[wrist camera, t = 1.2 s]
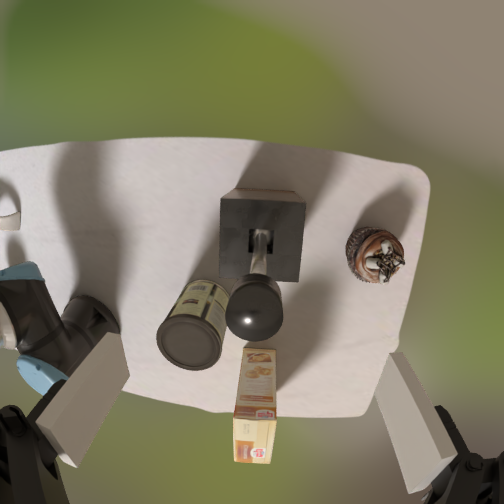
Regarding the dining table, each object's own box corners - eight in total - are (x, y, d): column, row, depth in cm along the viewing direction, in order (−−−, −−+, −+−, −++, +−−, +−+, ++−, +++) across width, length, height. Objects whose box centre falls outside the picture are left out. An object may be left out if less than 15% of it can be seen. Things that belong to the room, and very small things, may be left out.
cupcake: (359, 211, 48) (379, 223, 38) (398, 239, 49) (422, 256, 39) (330, 256, 50) (344, 277, 41) (370, 281, 51) (389, 305, 42)
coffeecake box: (242, 346, 57) (232, 417, 38) (277, 348, 57) (278, 420, 38) (241, 396, 61) (233, 462, 43) (271, 397, 61) (271, 464, 43)
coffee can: (199, 333, 57) (182, 378, 43) (170, 293, 54) (143, 331, 41) (242, 313, 55) (234, 358, 41) (213, 269, 52) (195, 305, 39)
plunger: (233, 260, 38) (200, 356, 19) (235, 208, 36) (196, 260, 17) (286, 263, 38) (302, 363, 18) (290, 211, 36) (317, 267, 16)
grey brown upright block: (232, 245, 51) (219, 277, 36) (234, 188, 48) (220, 198, 33) (289, 248, 50) (298, 282, 36) (294, 191, 47) (305, 202, 33)
